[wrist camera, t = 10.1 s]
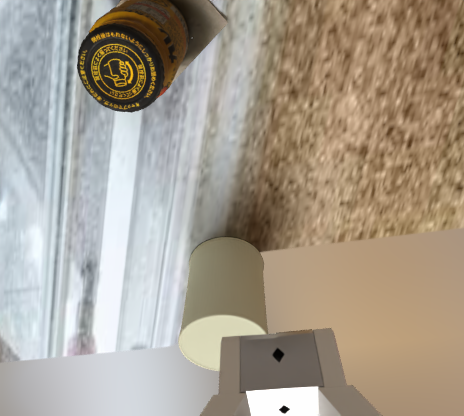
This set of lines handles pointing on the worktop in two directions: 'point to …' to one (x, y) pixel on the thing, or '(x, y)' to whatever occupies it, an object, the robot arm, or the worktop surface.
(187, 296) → the can
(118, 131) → the worktop surface
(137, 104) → the condiment
